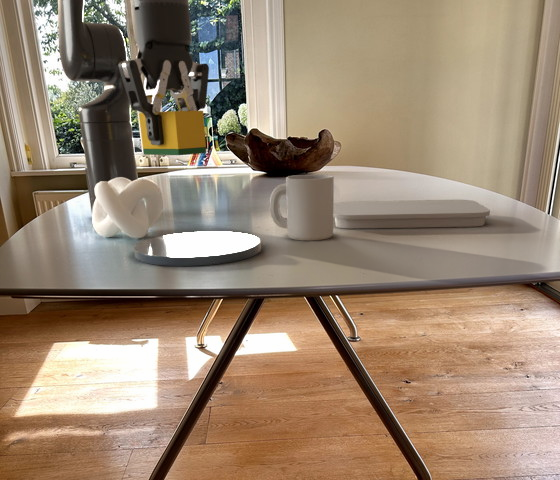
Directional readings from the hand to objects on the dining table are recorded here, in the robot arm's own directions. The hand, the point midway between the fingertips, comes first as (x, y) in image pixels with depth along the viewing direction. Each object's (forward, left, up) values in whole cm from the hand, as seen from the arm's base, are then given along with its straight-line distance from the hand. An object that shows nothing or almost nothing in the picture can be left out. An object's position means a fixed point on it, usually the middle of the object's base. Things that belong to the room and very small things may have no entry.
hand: (173, 143), depth 84 cm
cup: (+11, +15, -15) cm, 24 cm away
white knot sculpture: (-13, -1, -15) cm, 20 cm away
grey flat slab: (+16, +37, -15) cm, 43 cm away
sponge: (0, 0, -1) cm, 1 cm away
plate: (+6, -2, -14) cm, 16 cm away
